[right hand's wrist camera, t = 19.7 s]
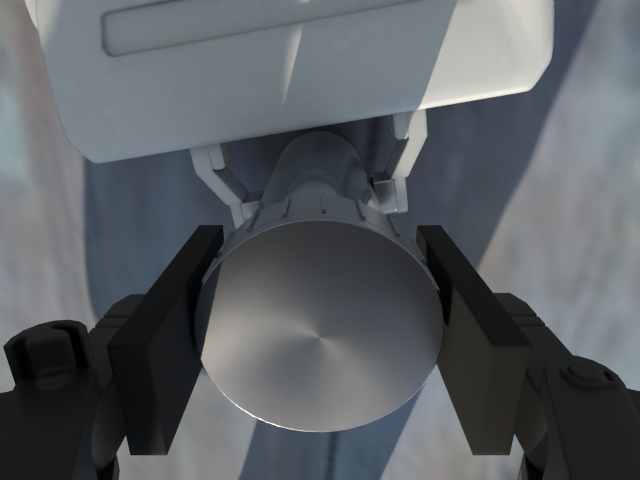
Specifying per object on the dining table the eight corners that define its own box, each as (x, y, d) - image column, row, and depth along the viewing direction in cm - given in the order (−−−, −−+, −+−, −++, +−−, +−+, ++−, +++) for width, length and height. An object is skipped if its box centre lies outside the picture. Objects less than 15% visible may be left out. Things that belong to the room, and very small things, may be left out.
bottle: (362, 128, 26) (427, 219, 10) (362, 212, 28) (416, 396, 12) (273, 132, 26) (203, 227, 10) (280, 215, 28) (229, 402, 12)
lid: (359, 412, 14) (365, 465, 12) (176, 336, 13) (153, 380, 11) (472, 256, 12) (500, 291, 10) (266, 149, 11) (255, 166, 9)
